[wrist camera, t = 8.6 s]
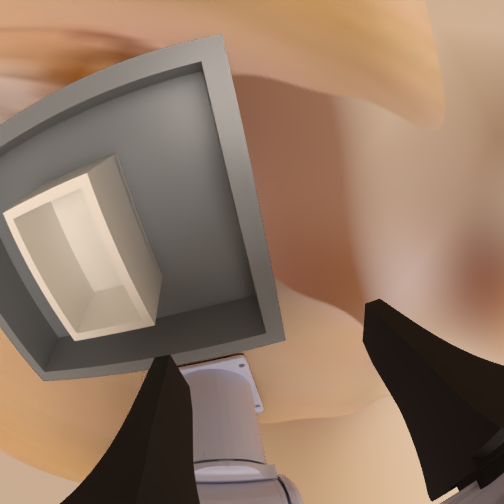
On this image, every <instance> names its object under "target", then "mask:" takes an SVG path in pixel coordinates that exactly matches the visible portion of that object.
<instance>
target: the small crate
mask: <svg viewBox="0 0 504 504" xmlns="http://www.w3.org/2000/svg"><path fill="white" fill-rule="evenodd" d="M3 215H4V217H5V220H6V222H7V224H8V226H9V229H10V231H11V233H12V235H13V237H14V240H15V242H16V244H17V246H18V248H19V250H20V252H21V254H22V256H23V258H24V260H25V262H26V264H27V266H28V267H29V269H30V271H31V273H32V275H33V277H34V278H35V280H36V282H37V284H38V285H39V287H40V289H41V290H42V292H43V294H44V296H45V297H46V299H47V300H48V302H49V304H50V305H51V307H52V308H53V310H54V312H55V313H56V315H57V316H58V318H59V319H60V321H61V322H62V324H63V325H64V327H65V328H66V330H67V331H68V332H69V334H70V335H71V337H72V338H73V339H74V341H78V340H84V339H89V338H95V337H100V336H105V335H110V334H115V333H120V332H125V331H130V330H135V329H140V328H145V327H149V326H154V325H155V321H156V314H157V308H158V302H159V295H160V290H161V284H162V278H163V276H162V274H161V271H160V269H159V267H158V264H157V262H156V259H155V257H154V255H153V252H152V250H151V247H150V245H149V242H148V240H147V237H146V235H145V232H144V229H143V227H142V224H141V222H140V219H139V216H138V214H137V211H136V208H135V206H134V203H133V200H132V197H131V194H130V192H129V189H128V186H127V183H126V180H125V177H124V174H123V171H122V168H121V165H120V162H119V159H118V156H117V153H115V154H113V155H110V156H108V157H105V158H102V159H100V160H97V161H95V162H93V163H90V164H88V165H85V166H83V167H81V168H78V169H76V170H74V171H71V172H69V173H67V174H65V175H62V176H60V177H58V178H56V179H54V180H52V181H50V182H48V183H45V184H43V185H42V186H40V187H39V188H37V189H36V190H34V191H33V192H31V193H30V194H28V195H27V196H26V197H24V198H23V199H21V200H20V201H18V202H17V203H16V204H14V205H13V206H12V207H10V208H9V209H8V210H6V211H5V212H4V213H3Z"/></svg>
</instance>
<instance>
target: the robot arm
mask: <svg viewBox="0 0 504 504" xmlns="http://www.w3.org/2000/svg"><path fill="white" fill-rule="evenodd" d="M363 343H364V345H365V347H366V350H367V352H368V354H369V357H370V359H371V361H372V363H373V365H374V367H375V368H376V370H377V372H378V373H379V375H380V377H381V378H382V380H383V382H384V383H385V385H386V387H387V388H388V390H389V392H390V393H391V395H392V397H393V399H394V400H395V402H396V404H397V405H398V407H399V409H400V411H401V413H402V415H403V418H404V420H405V422H406V425H407V427H408V429H409V432H410V434H411V437H412V440H413V443H414V446H415V448H416V451H417V454H418V457H419V460H420V464H421V467H422V471H423V475H424V479H425V483H426V487H427V492H428V495H429V498H430V500H431V501H434V500H436V499H437V498H439V497H441V496H442V495H444V494H446V493H447V492H449V491H451V490H452V489H454V488H455V487H457V488H458V490H459V492H458V493H456V494H455V495H453V496H452V497H450V498H448V499H447V500H445V501H443V502H442V503H440V504H504V366H503V365H500V364H496V363H493V362H491V361H488V360H485V359H482V358H480V357H477V356H475V355H472V354H470V353H468V352H466V351H464V350H462V349H459V348H457V347H455V346H453V345H451V344H450V343H448V342H446V341H444V340H442V339H441V338H439V337H437V336H436V335H434V334H432V333H431V332H429V331H427V330H426V329H424V328H423V327H421V326H419V325H418V324H416V323H415V322H413V321H412V320H410V319H409V318H407V317H406V316H404V315H403V314H401V313H400V312H398V311H397V310H395V309H394V308H392V307H391V306H390V305H388V304H387V303H385V302H384V301H382V300H381V299H378V300H375V301H372V302H369V303H366V304H365V318H364V331H363ZM263 410H264V407H263V404H262V402H261V399H260V396H259V393H258V391H257V388H256V385H255V382H254V379H253V376H252V374H251V371H250V368H249V365H248V362H247V359H246V357H245V356H244V355H236V356H232V357H227V358H223V359H218V360H214V361H209V362H204V363H199V364H194V365H189V366H183V367H177V365H176V363H175V362H174V360H173V358H172V357H171V355H165V356H159V357H155V358H154V360H153V362H152V364H151V366H150V369H149V371H148V373H147V375H146V378H145V380H144V382H143V384H142V386H141V389H140V391H139V393H138V395H137V397H136V399H135V401H134V403H133V406H132V408H131V410H130V412H129V414H128V415H127V417H126V419H125V421H124V423H123V425H122V427H121V429H120V430H119V432H118V434H117V436H116V437H115V439H114V440H113V442H112V444H111V445H110V447H109V448H108V450H107V451H106V453H105V454H104V456H103V457H102V458H101V460H100V461H99V462H98V464H97V465H96V466H95V468H94V469H93V470H92V472H91V473H90V474H89V475H88V476H87V477H86V478H85V480H84V481H83V482H82V483H81V484H80V485H79V486H78V487H77V488H76V490H74V491H73V492H72V493H71V494H70V495H69V496H68V497H67V498H66V499H65V500H64V501H63V502H61V503H60V504H303V500H302V497H301V495H300V492H299V490H298V488H297V487H296V485H295V484H294V483H293V482H292V481H290V480H289V479H288V478H287V477H286V476H285V475H281V474H278V475H277V473H276V469H275V465H267V463H266V459H265V455H264V449H263V445H262V440H261V435H260V430H259V425H258V421H257V416H256V413H260V412H262V411H263Z"/></svg>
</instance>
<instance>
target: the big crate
mask: <svg viewBox="0 0 504 504" xmlns="http://www.w3.org/2000/svg"><path fill="white" fill-rule="evenodd" d="M115 153H117V156H118V159H119V162H120V165H121V168H122V171H123V174H124V177H125V180H126V183H127V186H128V189H129V192H130V194H131V197H132V200H133V203H134V206H135V208H136V211H137V214H138V216H139V219H140V222H141V224H142V227H143V229H144V232H145V235H146V237H147V240H148V242H149V245H150V247H151V250H152V252H153V255H154V257H155V259H156V262H157V264H158V267H159V269H160V271H161V274H162V276H163V278H162V284H161V290H160V295H159V302H158V308H157V314H156V321H155V325H154V326H149V327H145V328H140V329H135V330H130V331H125V332H120V333H115V334H110V335H105V336H100V337H95V338H89V339H84V340H78V341H74V339H73V338H72V337H71V335H70V334H69V332H68V331H67V330H66V328H65V327H64V325H63V324H62V322H61V321H60V319H59V318H58V316H57V315H56V313H55V312H54V310H53V308H52V307H51V305H50V304H49V302H48V300H47V299H46V297H45V296H44V294H43V292H42V290H41V289H40V287H39V285H38V284H37V282H36V280H35V278H34V277H33V275H32V273H31V271H30V269H29V267H28V266H27V264H26V262H25V260H24V258H23V256H22V254H21V252H20V250H19V248H18V246H17V244H16V242H15V240H14V237H13V235H12V233H11V231H10V229H9V226H8V224H7V222H6V220H5V217H4V215H3V213H4V212H5V211H6V210H8V209H9V208H10V207H12V206H13V205H14V204H16V203H17V202H18V201H20V200H21V199H23V198H24V197H26V196H27V195H28V194H30V193H31V192H33V191H34V190H36V189H37V188H39V187H40V186H42V185H43V184H45V183H48V182H50V181H52V180H54V179H56V178H58V177H60V176H62V175H65V174H67V173H69V172H71V171H74V170H76V169H78V168H81V167H83V166H85V165H88V164H90V163H93V162H95V161H97V160H100V159H102V158H105V157H108V156H110V155H113V154H115ZM0 327H1V329H2V330H3V332H4V333H5V334H6V336H7V337H8V338H9V340H10V341H11V342H12V344H13V345H14V346H15V348H16V349H17V350H18V352H19V353H20V354H21V355H22V357H23V358H24V359H25V360H26V361H27V363H28V364H29V365H30V366H31V367H32V369H33V370H34V371H35V372H36V373H37V374H38V376H39V377H40V378H41V379H42V380H43V381H55V380H69V379H80V378H90V377H99V376H108V375H116V374H124V373H131V372H138V371H144V370H149V369H150V366H151V364H152V362H153V360H154V358H155V357H159V356H165V355H171V357H172V358H173V360H174V362H175V363H176V365H180V364H185V363H190V362H195V361H200V360H205V359H210V358H215V357H219V356H224V355H228V354H233V353H237V352H241V351H246V350H250V349H254V348H258V347H262V346H266V345H270V344H273V343H277V342H281V341H285V340H286V339H285V334H284V329H283V323H282V318H281V313H280V307H279V302H278V297H277V292H276V286H275V281H274V276H273V271H272V266H271V261H270V256H269V251H268V246H267V241H266V236H265V231H264V226H263V221H262V216H261V211H260V206H259V201H258V196H257V191H256V187H255V182H254V177H253V172H252V167H251V163H250V158H249V153H248V149H247V144H246V139H245V135H244V130H243V125H242V121H241V116H240V112H239V107H238V103H237V98H236V93H235V89H234V85H233V80H232V76H231V71H230V67H229V62H228V58H227V54H226V49H225V45H224V41H223V36H222V34H219V35H214V36H209V37H204V38H200V39H195V40H191V41H187V42H183V43H179V44H176V45H172V46H168V47H165V48H161V49H158V50H155V51H152V52H149V53H145V54H142V55H139V56H137V57H134V58H131V59H128V60H125V61H123V62H120V63H117V64H115V65H112V66H110V67H107V68H105V69H102V70H100V71H98V72H95V73H93V74H91V75H89V76H86V77H84V78H82V79H80V80H78V81H76V82H74V83H71V84H69V85H67V86H65V87H63V88H61V89H60V90H58V91H56V92H54V93H52V94H50V95H48V96H46V97H45V98H43V99H41V100H39V101H38V102H36V103H34V104H32V105H31V106H29V107H27V108H26V109H24V110H23V111H21V112H19V113H18V114H16V115H15V116H13V117H12V118H10V119H9V120H7V121H6V122H4V123H3V124H1V125H0Z"/></svg>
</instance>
